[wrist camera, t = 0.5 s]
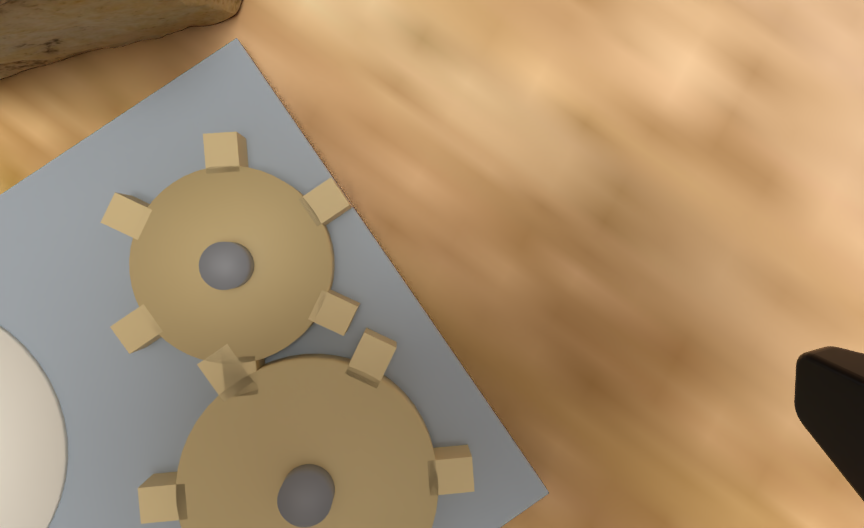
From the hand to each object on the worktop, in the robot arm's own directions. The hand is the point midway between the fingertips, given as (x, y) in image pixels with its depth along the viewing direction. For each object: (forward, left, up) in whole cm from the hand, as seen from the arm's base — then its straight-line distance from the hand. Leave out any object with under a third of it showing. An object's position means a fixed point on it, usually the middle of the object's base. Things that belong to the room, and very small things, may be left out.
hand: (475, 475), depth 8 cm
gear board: (+2, +11, -14) cm, 17 cm away
